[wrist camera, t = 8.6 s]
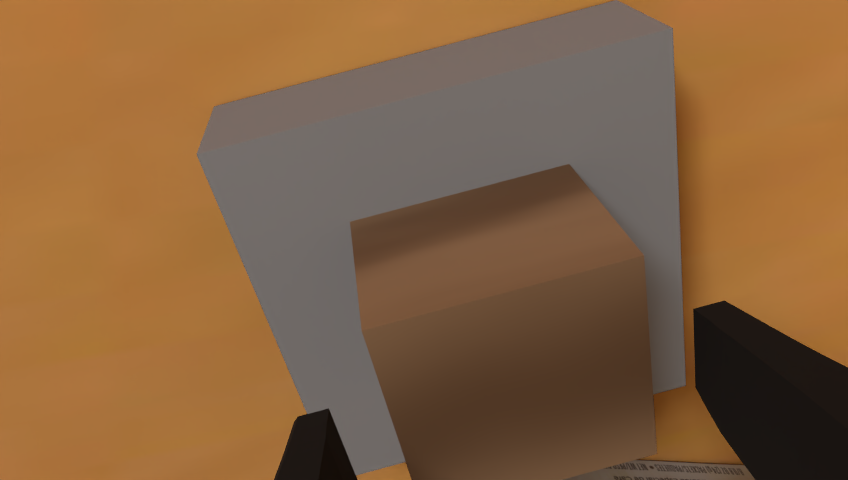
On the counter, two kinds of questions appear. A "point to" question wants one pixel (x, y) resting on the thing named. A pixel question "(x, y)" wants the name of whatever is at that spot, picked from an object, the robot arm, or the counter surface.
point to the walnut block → (508, 331)
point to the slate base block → (444, 180)
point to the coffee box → (667, 471)
